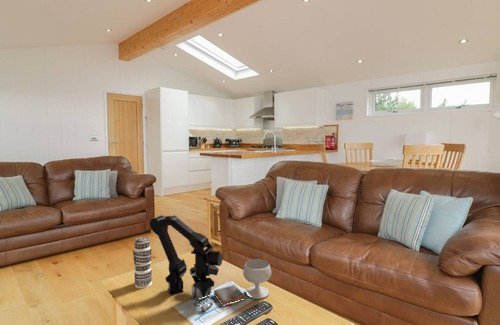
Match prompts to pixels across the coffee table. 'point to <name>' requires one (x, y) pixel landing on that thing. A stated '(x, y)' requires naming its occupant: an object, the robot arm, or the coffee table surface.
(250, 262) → the chalice
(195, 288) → the block
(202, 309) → the loose bolt
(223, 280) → the coffee table surface
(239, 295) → the plinth
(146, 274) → the grey striped cylinder
